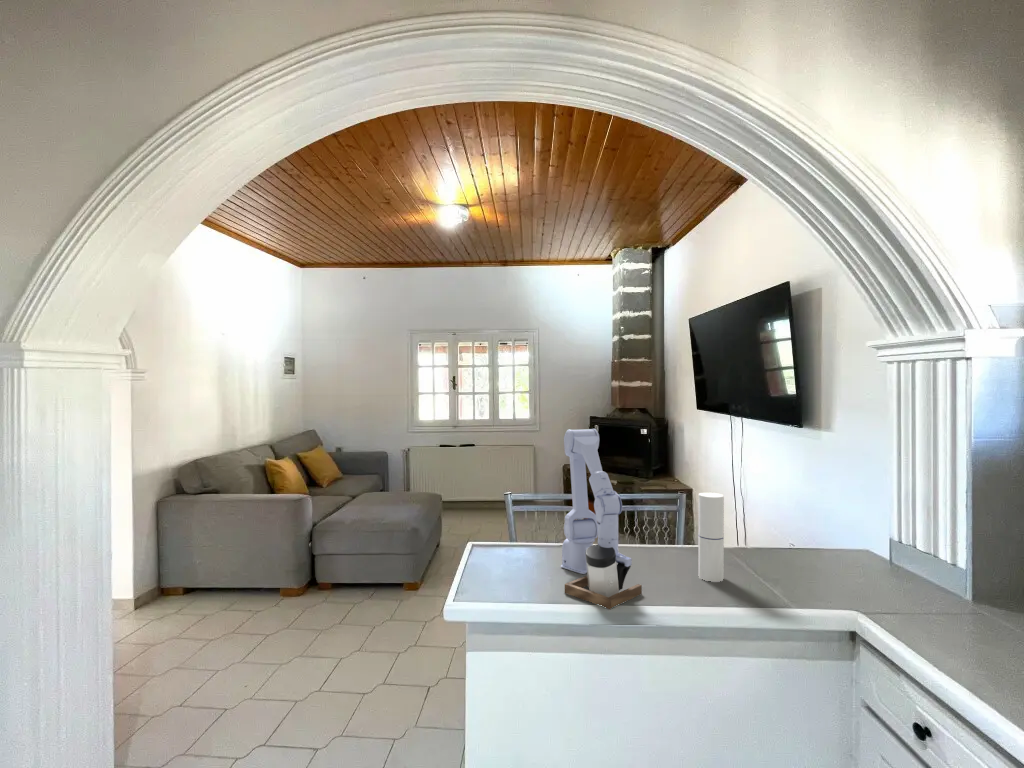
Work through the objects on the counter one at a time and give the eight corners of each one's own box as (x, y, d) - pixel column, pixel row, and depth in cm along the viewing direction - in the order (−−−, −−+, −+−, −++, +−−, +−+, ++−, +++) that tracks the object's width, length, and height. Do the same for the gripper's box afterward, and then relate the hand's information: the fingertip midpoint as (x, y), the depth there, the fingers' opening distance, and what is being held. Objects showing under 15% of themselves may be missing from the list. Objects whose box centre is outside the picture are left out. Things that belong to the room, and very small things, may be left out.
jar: (600, 603, 148) (597, 563, 146) (581, 590, 155) (578, 551, 153) (625, 590, 153) (622, 551, 150) (606, 578, 160) (603, 540, 157)
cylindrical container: (697, 580, 164) (697, 496, 164) (699, 572, 171) (699, 491, 171) (723, 583, 161) (723, 498, 161) (723, 575, 168) (723, 493, 168)
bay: (564, 592, 155) (564, 583, 155) (597, 579, 165) (597, 571, 165) (609, 609, 143) (609, 599, 143) (641, 594, 154) (641, 585, 154)
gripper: (638, 540, 153) (638, 588, 153) (596, 529, 164) (596, 575, 164) (623, 545, 148) (623, 595, 148) (580, 534, 159) (581, 581, 159)
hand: (607, 585), depth 156 cm, fingers open, 7 cm apart
